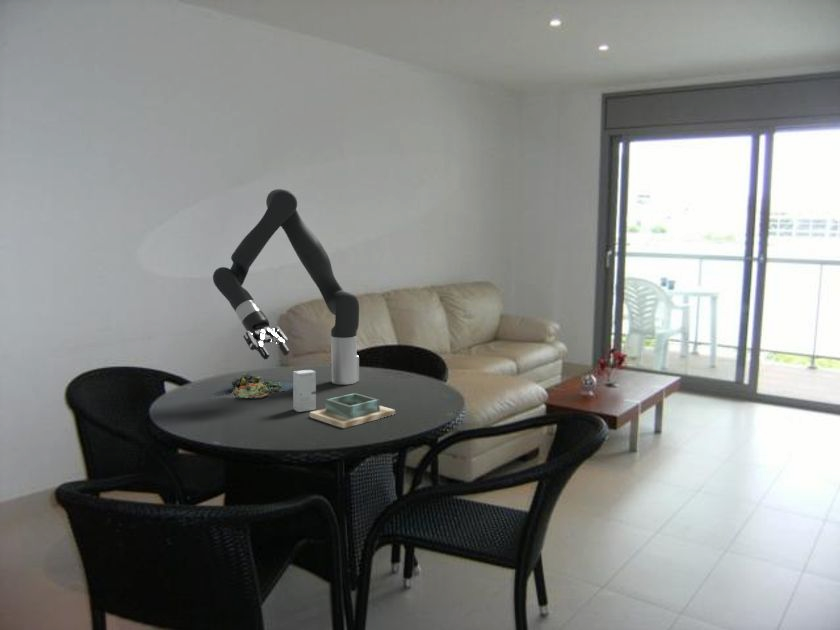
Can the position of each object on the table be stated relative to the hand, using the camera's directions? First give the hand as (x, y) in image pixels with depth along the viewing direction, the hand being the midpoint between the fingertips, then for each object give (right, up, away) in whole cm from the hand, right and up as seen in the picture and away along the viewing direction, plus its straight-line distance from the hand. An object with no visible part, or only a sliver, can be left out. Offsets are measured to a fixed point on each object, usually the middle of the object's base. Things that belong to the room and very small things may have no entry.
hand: (277, 355), depth 211 cm
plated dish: (-12, -14, +19) cm, 27 cm away
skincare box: (+10, -17, -4) cm, 20 cm away
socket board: (+25, -17, -11) cm, 33 cm away
